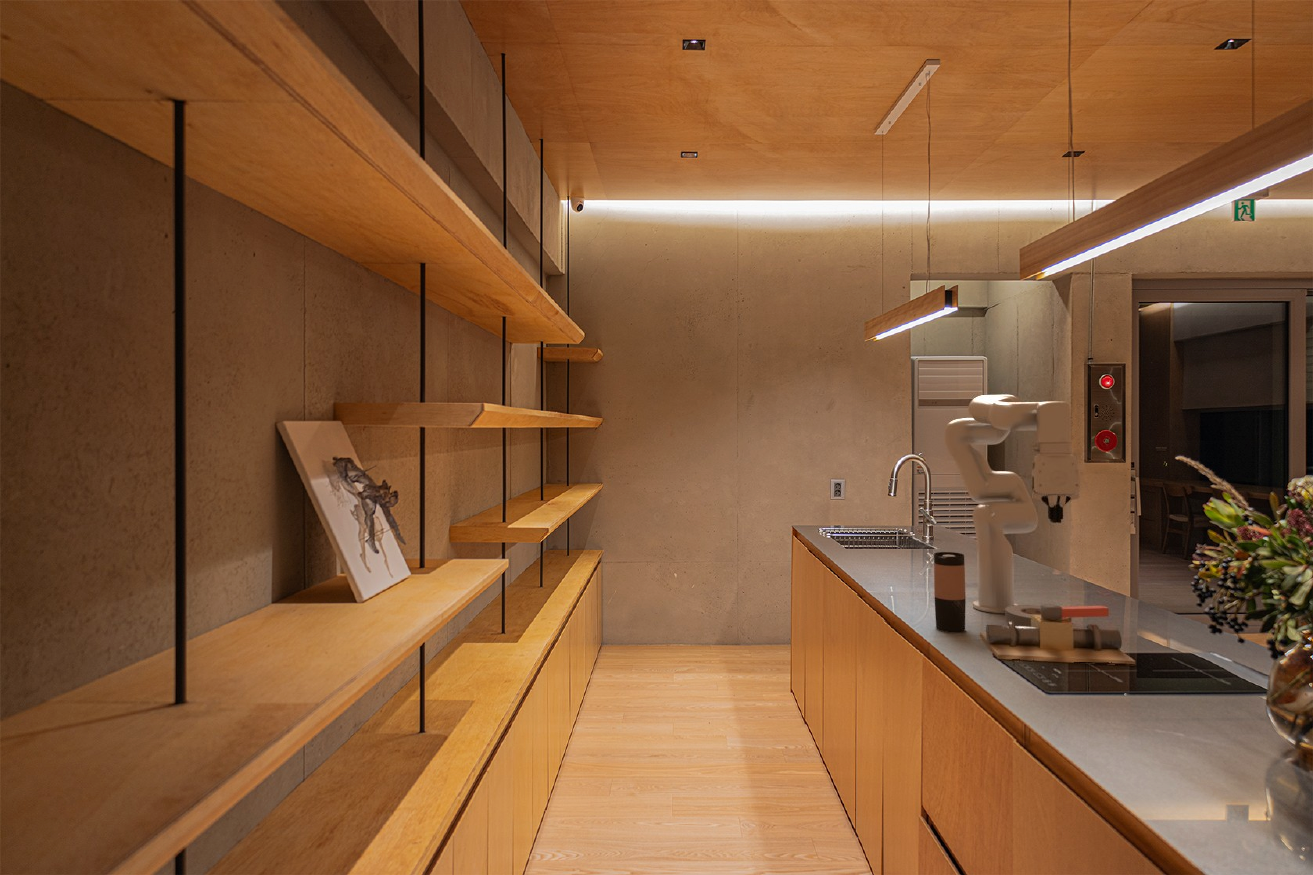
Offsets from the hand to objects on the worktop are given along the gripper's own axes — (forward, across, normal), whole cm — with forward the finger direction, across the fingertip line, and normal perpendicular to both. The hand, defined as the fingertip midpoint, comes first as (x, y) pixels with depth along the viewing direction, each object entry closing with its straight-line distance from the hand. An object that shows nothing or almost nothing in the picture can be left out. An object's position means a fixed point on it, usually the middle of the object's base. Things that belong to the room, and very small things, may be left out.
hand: (1055, 522), depth 176 cm
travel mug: (+29, -25, +3) cm, 39 cm away
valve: (+29, -5, -12) cm, 32 cm away
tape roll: (+30, -3, +6) cm, 30 cm away
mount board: (+29, -5, -12) cm, 32 cm away
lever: (+21, 0, -11) cm, 24 cm away
